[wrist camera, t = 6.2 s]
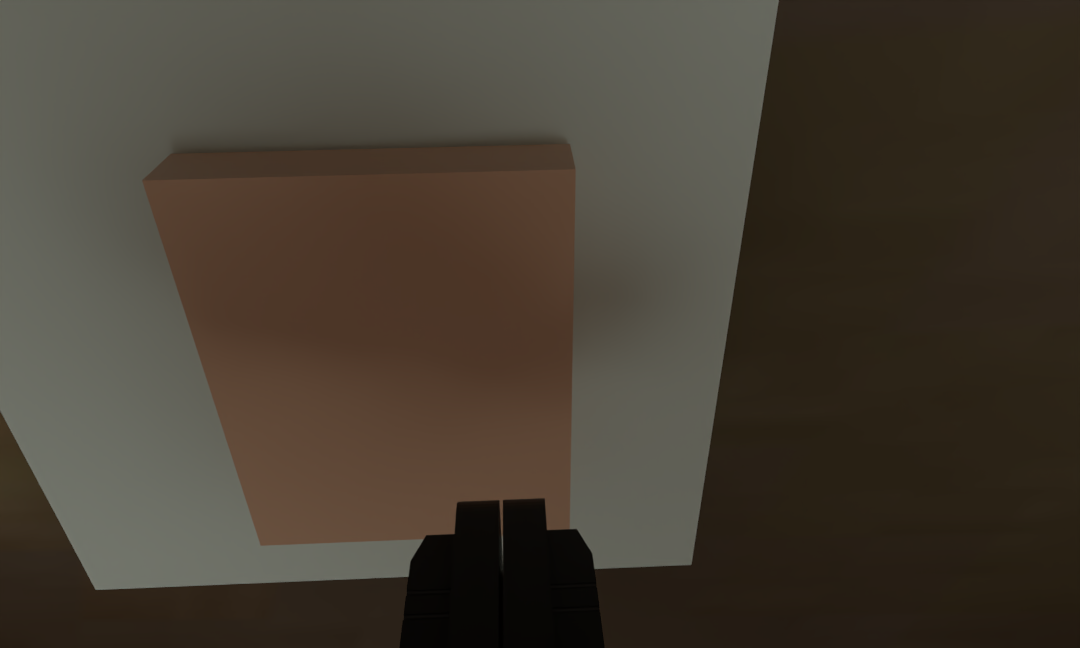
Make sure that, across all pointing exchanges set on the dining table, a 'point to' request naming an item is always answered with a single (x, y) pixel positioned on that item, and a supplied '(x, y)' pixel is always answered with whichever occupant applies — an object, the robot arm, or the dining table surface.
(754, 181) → the dining table surface
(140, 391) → the mat
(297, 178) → the tile
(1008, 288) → the dining table surface
